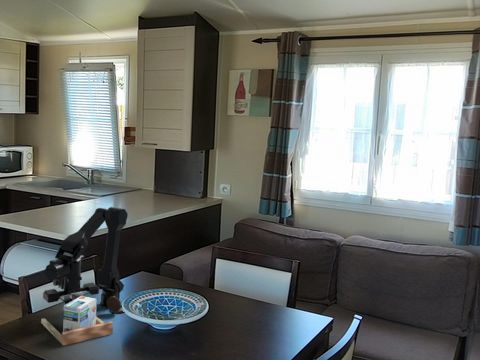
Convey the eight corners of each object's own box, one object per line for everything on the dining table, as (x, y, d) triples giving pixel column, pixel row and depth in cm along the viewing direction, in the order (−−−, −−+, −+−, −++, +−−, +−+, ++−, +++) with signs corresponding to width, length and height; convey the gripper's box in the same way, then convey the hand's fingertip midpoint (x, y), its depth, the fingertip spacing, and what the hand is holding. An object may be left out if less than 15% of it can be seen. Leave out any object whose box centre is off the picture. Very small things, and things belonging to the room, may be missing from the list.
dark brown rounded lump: (130, 309, 193) (130, 291, 193) (119, 316, 186) (119, 298, 185) (112, 306, 196) (113, 288, 195) (101, 312, 188) (101, 294, 188)
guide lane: (87, 313, 187) (88, 303, 186) (112, 333, 171) (113, 322, 170) (41, 323, 175) (41, 312, 175) (63, 345, 159) (63, 334, 159)
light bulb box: (79, 339, 165) (80, 308, 163) (62, 335, 166) (62, 305, 165) (96, 326, 175) (97, 298, 174) (80, 323, 177) (80, 295, 175)
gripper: (88, 264, 187) (87, 302, 189) (38, 271, 175) (37, 312, 177) (100, 271, 179) (99, 312, 180) (48, 279, 167) (47, 323, 168)
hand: (71, 314), depth 177 cm, fingers closed
